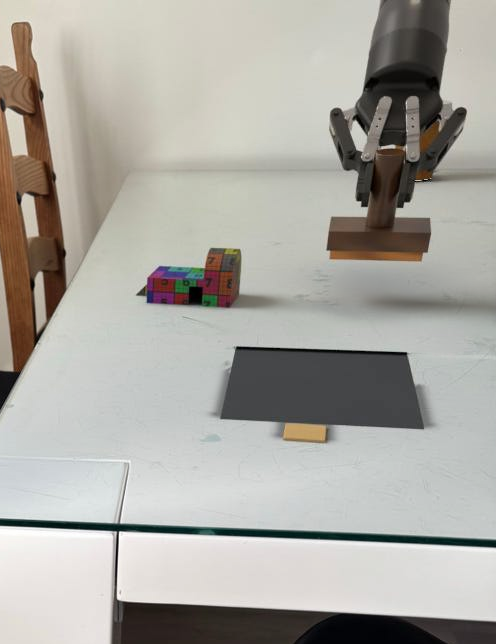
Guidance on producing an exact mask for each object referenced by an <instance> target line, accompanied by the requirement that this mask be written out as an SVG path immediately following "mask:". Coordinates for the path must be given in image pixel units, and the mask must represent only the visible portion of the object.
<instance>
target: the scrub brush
mask: <svg viewBox="0 0 496 644" xmlns="http://www.w3.org/2000/svg"><path fill="white" fill-rule="evenodd" d="M404 158H405V151H404V150H401V149H395V148H393V147H389V148H387V147H386V148H381V150H378V151H376V155H375V162H374V170H373V177H372V184H371V191H370V197H369V203H368V207H367V211H366V216H330V220H329V226H328V227H329V228H328V232H327V233H328V234H327V240H326V241H327V242H326V251H328V252H329V260H333V261H334V260H336V261H340V260H341V261H345V260H346V261H377V262H379V261H381V262H382V261H383V262H422V261H423V257H424V254H428V252H429V247H430V243H431V236H432V224H431V217H410V216H409V217H407V216H405V217H401V216H400V217H399V216H396V214H397V208H396V206H397V200H398V194H399V187H400V181H401V175H402V169H403V163H404Z"/></svg>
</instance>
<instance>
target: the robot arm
mask: <svg viewBox="0 0 496 644" xmlns="http://www.w3.org/2000/svg"><path fill="white" fill-rule="evenodd" d="M451 3H452V0H380V1H379V8H378V14H377V18H376V21H375V23H374V26H373V30H372V35H371V40H370V46H369V49H368V50H369V51H368V58H367V63H366V64H367V65H366V70H365V74H364V75H365V76H364V81H363V88H362V93H361V95H360V97H358V100H356V102H355V105H354V106H353V107H350V108H348V109H346V110H343V109H341V107H334V108H332V109H330V111H329V124H328V125H329V126H328V131H329V133H330V134H329V135H330V136H331V139H332V143H333V145H334V147H335V150H336V153H337V155H338V158H339V161H340V164H341V167H342V169H343V170H344V171H345V172H350V171H355V172H356V173H357V180H356V187H355V195H354V197H355V202H360V208H368V204H369V197H370V191H371V184H372V177H373V170H374V162H375V155H376V151H378V150H381V149H382V147H387V146H395V145H396V146H403V150H404V151H405V158H404V163H403V169H402V175H401V181H400V187H399V194H398V200H397V206H396V209H404V207H405V203H407V204H409V203H411V201H412V200H413V197H414V192H415V186H416V182H415V179H416V175H417V174H418V173H419V172H421V171H424V170H425V171H427V172H432V171H434V172H435V170H436V169H437V167H438V166H439V165H440V163H441V162H442V161H443V160H444V158H445V157H446V155H447V153H448V152H449V151H450V149H451V148H452V146H453V145H454V144H455V142H456V141H457V139H458V138H459V137H460V135H461V134H462V133H463V130H464V128H465V123H466V118H467V115H468V110H467V108H466V107H463V106H459V107H456V109H453V110H451V109H448V108H446V107H443V101H442V100H443V99H442V97H441V94H440V93H441V86H442V80H443V73H444V67H445V60H446V56H447V52H448V41H449V34H450V10H451ZM437 120H438V121H439V122H440V125H439V133H438V135H437V136H436V138H435V139H434V140H433V142H432V143H431V145H430V146H429V148H428V149H427V150H426V151H422V152H420V147H419V138H420V137H421V136H422V135H423V134H424V133H425V132H426V131H427V130H428V129H429V128H430V127H431V126H432V125H433V124H434V123H435V122H436V121H437ZM354 122H356V123H357V124H358V125H359V127H360V129H361V130H362V131H363V133H364V135H365V136H366V141H365V144H364V148H363V150H362V151H361V150H358V149H357V147H356V144H355V141H354V139H353V136H352V133H351V132H352V131H353V125H354Z"/></svg>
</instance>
